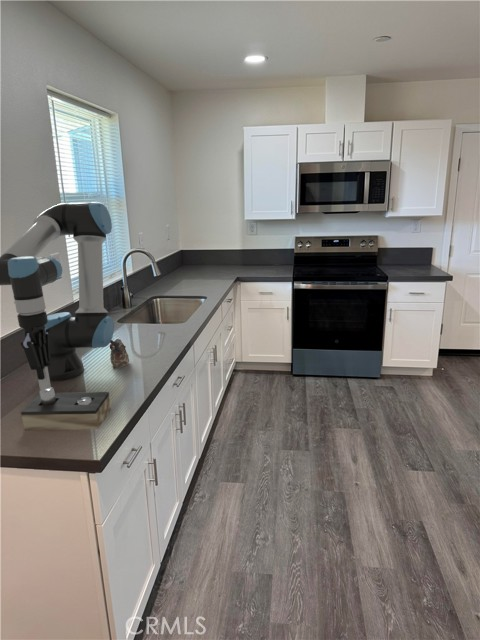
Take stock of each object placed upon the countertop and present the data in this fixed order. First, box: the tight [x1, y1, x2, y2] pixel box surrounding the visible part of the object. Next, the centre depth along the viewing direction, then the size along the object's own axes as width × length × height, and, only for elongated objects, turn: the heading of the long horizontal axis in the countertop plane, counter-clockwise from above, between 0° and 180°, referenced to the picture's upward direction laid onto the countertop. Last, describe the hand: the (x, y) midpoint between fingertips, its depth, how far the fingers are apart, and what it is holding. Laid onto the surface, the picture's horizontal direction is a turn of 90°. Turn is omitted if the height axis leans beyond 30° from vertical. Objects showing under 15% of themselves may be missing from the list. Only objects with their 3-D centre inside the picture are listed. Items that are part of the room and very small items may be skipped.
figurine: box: [109, 338, 130, 368], centre depth 169 cm, size 7×7×12 cm
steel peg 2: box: [77, 397, 92, 405], centre depth 130 cm, size 4×4×6 cm
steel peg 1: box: [39, 386, 56, 406], centre depth 130 cm, size 4×4×6 cm
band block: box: [20, 391, 112, 431], centre depth 131 cm, size 12×22×6 cm, turn 88°
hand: (45, 387), depth 129 cm, fingers closed
